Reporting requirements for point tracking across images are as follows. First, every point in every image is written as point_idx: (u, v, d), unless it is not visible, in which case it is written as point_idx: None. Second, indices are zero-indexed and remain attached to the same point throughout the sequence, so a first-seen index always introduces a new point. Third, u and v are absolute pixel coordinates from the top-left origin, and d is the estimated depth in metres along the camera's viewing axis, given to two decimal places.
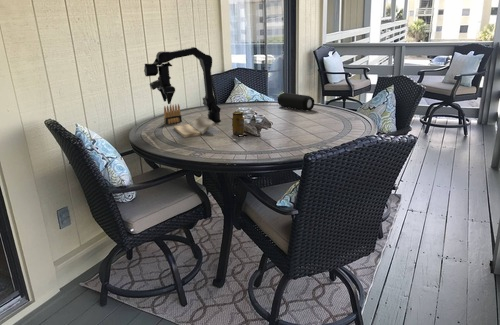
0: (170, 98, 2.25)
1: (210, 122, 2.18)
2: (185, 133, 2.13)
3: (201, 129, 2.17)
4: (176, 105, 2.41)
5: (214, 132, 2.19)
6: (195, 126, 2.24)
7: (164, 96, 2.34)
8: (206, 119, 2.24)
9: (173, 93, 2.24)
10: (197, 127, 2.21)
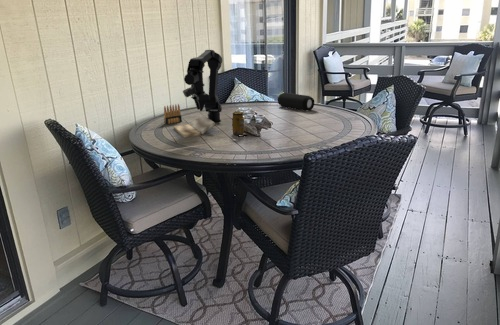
0: (202, 105, 2.23)
1: (210, 122, 2.18)
2: (185, 133, 2.13)
3: (201, 129, 2.17)
4: (176, 105, 2.41)
5: (214, 132, 2.19)
6: (195, 126, 2.24)
7: (198, 104, 2.27)
8: (206, 119, 2.24)
9: (206, 100, 2.21)
10: (197, 127, 2.21)
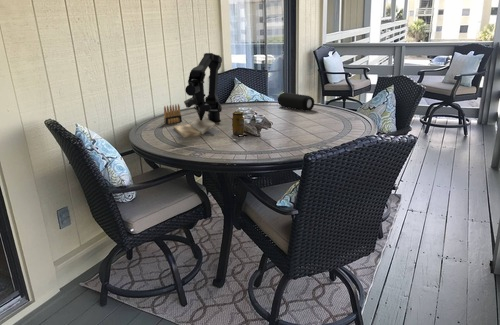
0: (202, 114, 2.27)
1: (211, 123, 2.18)
2: (185, 133, 2.13)
3: (201, 129, 2.17)
4: (176, 105, 2.41)
5: (214, 132, 2.19)
6: (195, 126, 2.24)
7: None
8: (207, 120, 2.24)
9: (205, 109, 2.25)
10: (197, 127, 2.21)
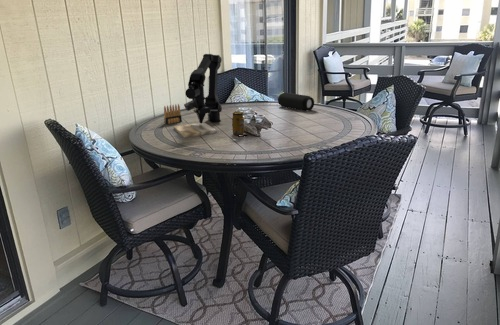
0: (202, 117, 2.27)
1: (212, 129, 2.20)
2: (185, 133, 2.13)
3: (201, 130, 2.17)
4: (176, 105, 2.41)
5: None
6: (195, 127, 2.24)
7: None
8: (208, 126, 2.26)
9: (205, 112, 2.26)
10: (197, 128, 2.22)
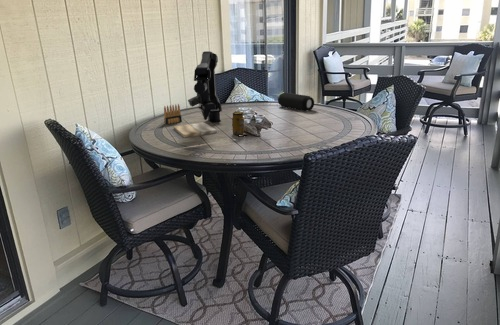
0: (207, 114, 2.18)
1: (212, 129, 2.20)
2: (185, 133, 2.13)
3: (201, 130, 2.17)
4: (176, 106, 2.41)
5: None
6: (195, 127, 2.24)
7: None
8: (208, 126, 2.26)
9: (210, 109, 2.16)
10: (197, 128, 2.22)
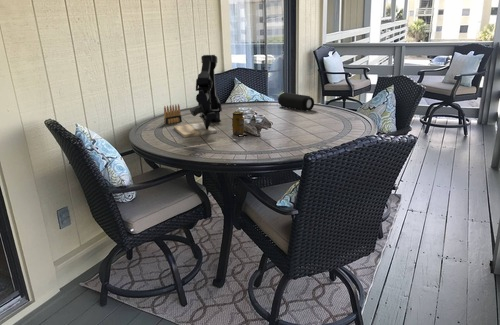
0: (208, 123, 2.19)
1: (212, 129, 2.20)
2: (185, 133, 2.13)
3: (201, 130, 2.17)
4: (176, 106, 2.41)
5: None
6: (195, 127, 2.24)
7: None
8: None
9: None
10: (197, 128, 2.22)
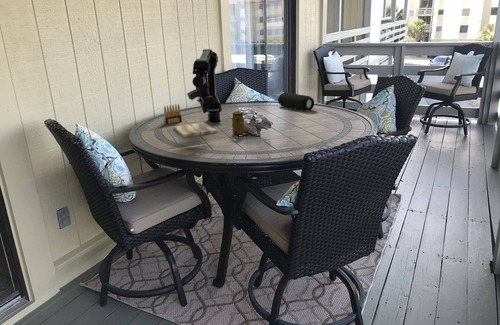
0: (206, 107, 2.18)
1: (212, 129, 2.20)
2: (185, 133, 2.13)
3: (201, 130, 2.17)
4: (176, 105, 2.41)
5: None
6: (195, 127, 2.24)
7: None
8: (208, 126, 2.26)
9: None
10: (197, 128, 2.22)
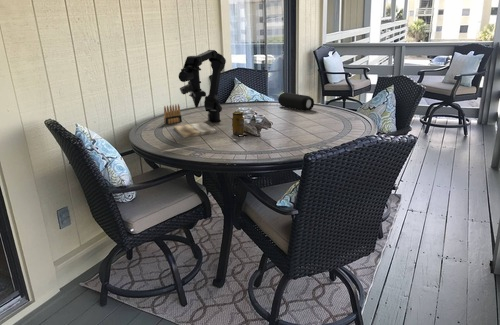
0: (198, 101, 2.27)
1: (212, 129, 2.20)
2: (185, 133, 2.13)
3: (201, 130, 2.17)
4: (176, 105, 2.41)
5: None
6: (195, 127, 2.24)
7: None
8: (208, 126, 2.26)
9: (201, 96, 2.26)
10: (197, 128, 2.22)
